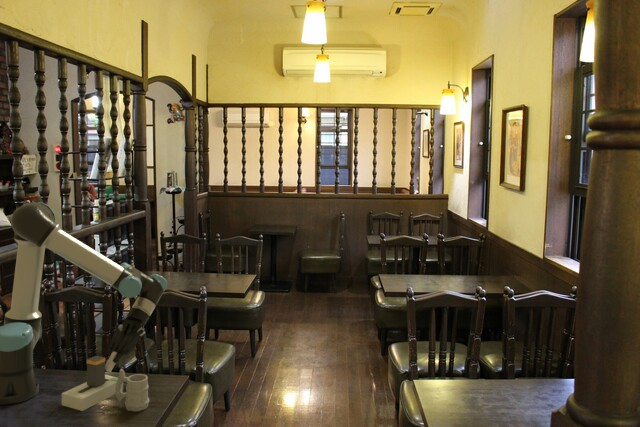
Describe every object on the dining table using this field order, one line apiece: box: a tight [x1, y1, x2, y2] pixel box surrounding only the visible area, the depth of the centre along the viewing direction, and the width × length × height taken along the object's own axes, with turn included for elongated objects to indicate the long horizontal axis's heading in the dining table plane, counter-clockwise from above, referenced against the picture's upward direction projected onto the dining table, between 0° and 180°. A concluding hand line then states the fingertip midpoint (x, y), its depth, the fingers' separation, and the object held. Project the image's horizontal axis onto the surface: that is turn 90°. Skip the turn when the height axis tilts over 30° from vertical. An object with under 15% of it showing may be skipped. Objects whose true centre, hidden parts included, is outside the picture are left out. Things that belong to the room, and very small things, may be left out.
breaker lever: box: [86, 355, 106, 387], centre depth 178 cm, size 4×4×9 cm
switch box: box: [61, 374, 124, 412], centre depth 177 cm, size 9×18×4 cm, turn 158°
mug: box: [114, 368, 150, 412], centre depth 172 cm, size 8×12×12 cm, turn 78°
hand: (106, 370), depth 182 cm, fingers closed
